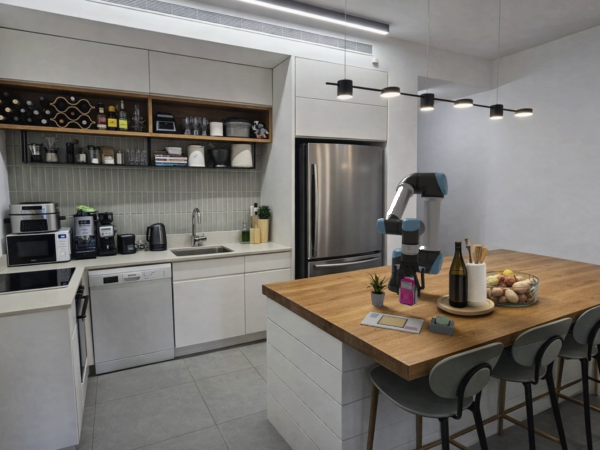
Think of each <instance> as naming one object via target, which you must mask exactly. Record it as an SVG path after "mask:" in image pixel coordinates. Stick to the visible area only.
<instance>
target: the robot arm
mask: <svg viewBox="0 0 600 450" xmlns="http://www.w3.org/2000/svg"><path fill="white" fill-rule="evenodd" d="M447 178H448V177H447V176H446V174H445V173H443V172H413V173H410V174H408V175H406V176H404V178H402V179H401V180H400V181H399V182H398V184H397V186H396V188H395V191H396V193H395V194H394V197H393V199H392V201H391V203H390V206H389V208H388V210H387V212H386V214H385V217H382V218H378V219H377V220H376V227H375V229H376V231H377V233H378V234H381V235H389V236H401V245H400V247H398V248H394V249H393V250H392V253H391V275H390V277H392V278H390V277H389V279H388V283H387V287H390V288H387V289H388V290H389V291H392V292H396V295H398V303H400V289H401V279H403V278H405V277H410V278H414V281H415V284H416V287H417V289H416V292H415V304H414V305H418V303H419V301H418V300H419V298H420V297H421V291H422V290H423V291H424V290H425V288H426V281H425V275H430V276H431V275H435V276H436V275H439V274H440V272H441V270H442V267H443V262H444V253H441V249H440V247H439V233H440V216H441V202H442V201H443V200H444V199H445V196H447V195H448V192H449V185H448V179H447ZM414 195H421V196H420V198H421V199H422V200H423V207H422V210H423V211H422V220H421V219H419V218H413V217H411V218H410V217H407V218H402V217H403V215H404V213H405V210H406V209H407V205H408V203H409V201H410V199H411V198H412V197H413V196H414ZM420 236H421V240H420ZM417 274H420V281H419V278H418V275H417Z"/></svg>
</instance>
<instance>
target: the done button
mask: <svg viewBox="0 0 600 450" xmlns="http://www.w3.org/2000/svg"><path fill="white" fill-rule="evenodd" d="M435 318H436V324H439V325H445V326H449V320H450V318H449V317H448V316H446V315H445V316H444V315H437V316H435Z"/></svg>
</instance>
